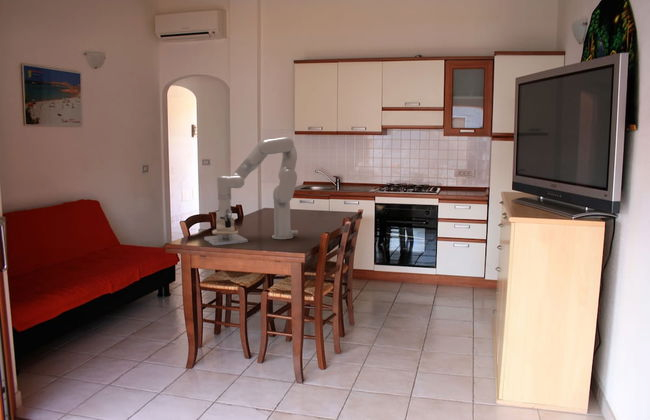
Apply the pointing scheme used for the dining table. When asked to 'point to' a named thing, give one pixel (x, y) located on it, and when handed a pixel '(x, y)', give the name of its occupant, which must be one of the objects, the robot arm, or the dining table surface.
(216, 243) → the eye plate
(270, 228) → the dining table surface
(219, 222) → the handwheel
